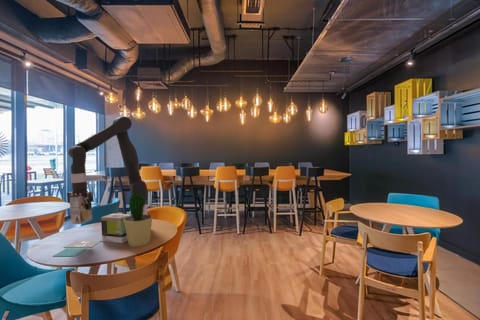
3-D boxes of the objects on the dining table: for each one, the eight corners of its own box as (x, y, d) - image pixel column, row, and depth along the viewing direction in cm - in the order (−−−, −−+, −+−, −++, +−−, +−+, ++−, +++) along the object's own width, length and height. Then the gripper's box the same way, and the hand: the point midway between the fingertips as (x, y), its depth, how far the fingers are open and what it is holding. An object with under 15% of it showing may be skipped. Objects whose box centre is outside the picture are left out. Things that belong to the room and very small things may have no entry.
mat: (87, 248, 146) (87, 248, 146) (75, 256, 136) (75, 255, 136) (66, 248, 146) (66, 248, 146) (52, 256, 136) (52, 256, 136)
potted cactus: (142, 249, 143) (139, 194, 141) (118, 246, 148) (115, 193, 146) (158, 239, 158) (156, 189, 156) (137, 237, 162) (134, 188, 161)
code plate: (101, 240, 158) (101, 240, 158) (91, 247, 148) (91, 246, 148) (75, 241, 159) (75, 240, 159) (63, 247, 149) (63, 247, 149)
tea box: (134, 237, 162) (133, 214, 161) (121, 243, 152) (120, 218, 151) (114, 235, 167) (113, 212, 166) (101, 241, 157) (100, 216, 156)
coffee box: (83, 219, 158) (81, 192, 157) (93, 219, 156) (91, 192, 155) (71, 224, 149) (68, 195, 148) (80, 224, 147) (78, 195, 146)
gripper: (95, 179, 154) (97, 208, 156) (71, 180, 155) (73, 208, 156) (87, 181, 147) (89, 211, 148) (62, 182, 148) (64, 211, 149)
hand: (81, 209), depth 152 cm, fingers closed on coffee box, 7 cm apart
